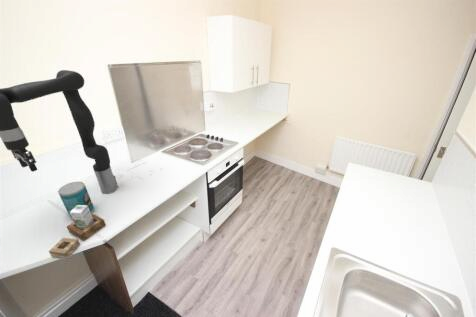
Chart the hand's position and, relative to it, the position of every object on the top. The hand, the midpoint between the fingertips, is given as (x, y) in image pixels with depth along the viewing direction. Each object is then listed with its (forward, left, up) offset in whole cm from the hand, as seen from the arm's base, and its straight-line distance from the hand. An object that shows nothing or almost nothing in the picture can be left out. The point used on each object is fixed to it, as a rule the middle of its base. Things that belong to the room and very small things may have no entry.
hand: (29, 168), depth 104 cm
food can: (-10, +6, -34) cm, 36 cm away
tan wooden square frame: (+9, +25, -34) cm, 43 cm away
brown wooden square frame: (-4, +21, -34) cm, 40 cm away
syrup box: (-4, +21, -34) cm, 40 cm away
